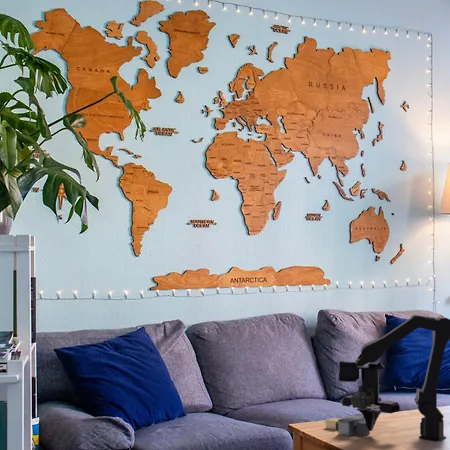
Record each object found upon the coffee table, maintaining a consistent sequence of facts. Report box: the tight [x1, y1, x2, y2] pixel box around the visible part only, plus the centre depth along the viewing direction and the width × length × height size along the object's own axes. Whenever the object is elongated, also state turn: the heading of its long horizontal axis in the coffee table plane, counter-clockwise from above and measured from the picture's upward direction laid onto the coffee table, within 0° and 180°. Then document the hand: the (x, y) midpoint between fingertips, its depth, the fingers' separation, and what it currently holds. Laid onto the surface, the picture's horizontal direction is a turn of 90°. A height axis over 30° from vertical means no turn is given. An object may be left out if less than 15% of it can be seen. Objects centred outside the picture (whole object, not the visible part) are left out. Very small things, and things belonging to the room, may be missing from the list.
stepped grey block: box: [336, 421, 371, 436], centre depth 243 cm, size 11×3×4 cm, turn 47°
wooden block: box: [324, 417, 339, 431], centre depth 248 cm, size 5×4×3 cm
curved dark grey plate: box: [337, 413, 366, 437], centre depth 242 cm, size 4×12×5 cm, turn 137°
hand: (370, 430), depth 238 cm, fingers closed
